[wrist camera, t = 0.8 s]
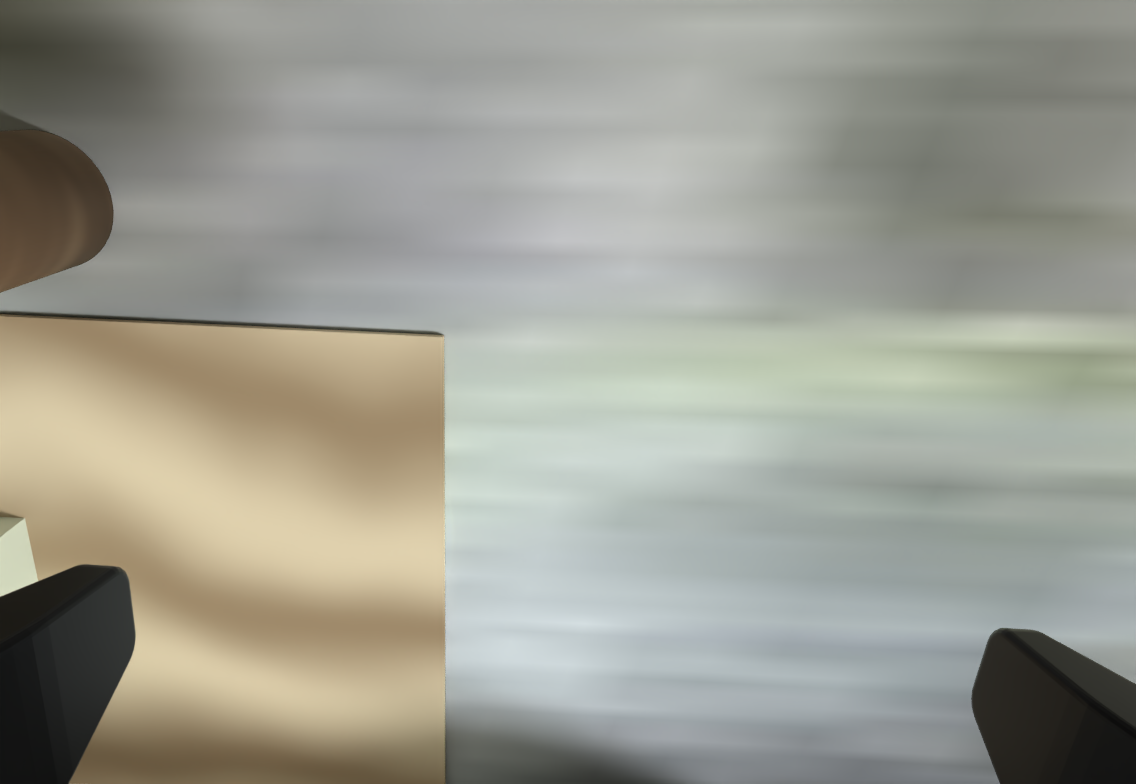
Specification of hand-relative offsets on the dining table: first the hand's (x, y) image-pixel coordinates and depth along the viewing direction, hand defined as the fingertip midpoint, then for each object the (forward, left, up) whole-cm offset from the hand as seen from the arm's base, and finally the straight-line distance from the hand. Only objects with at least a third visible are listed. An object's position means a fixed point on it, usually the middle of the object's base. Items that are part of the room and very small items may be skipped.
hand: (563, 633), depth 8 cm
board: (-9, +12, -14) cm, 20 cm away
